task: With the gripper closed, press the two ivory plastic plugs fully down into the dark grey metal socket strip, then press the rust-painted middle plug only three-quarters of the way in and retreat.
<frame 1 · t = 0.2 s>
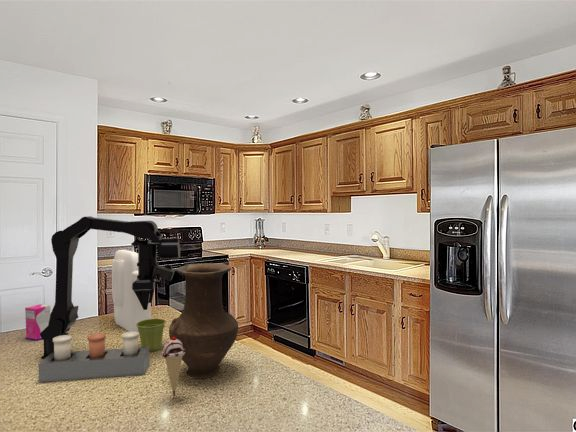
hand: (147, 306, 127), 14 cm above the countertop, fingers open, 9 cm apart
plant pot: (151, 349, 129), on the countertop
vase: (204, 372, 110), on the countertop
rust plug: (96, 346, 110), point 7 cm above the countertop, slide at 0.0 cm
white plastic jug: (128, 326, 153), on the countertop
socket block: (97, 372, 110), on the countertop
ivory plug near: (62, 348, 108), point 7 cm above the countertop, slide at 0.0 cm
supplement box: (38, 338, 140), on the countertop
ivory plug far: (130, 344, 111), point 7 cm above the countertop, slide at 0.0 cm
ice cream cone: (173, 397, 95), on the countertop
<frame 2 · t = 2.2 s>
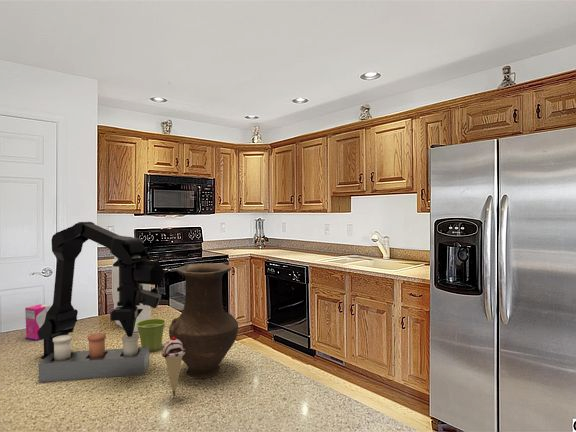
hand: (130, 336, 111), 10 cm above the countertop, fingers closed, pressing on ivory plug far
ivory plug far: (130, 347, 111), point 7 cm above the countertop, slide at 0.8 cm, touching gripper
everything else where it was.
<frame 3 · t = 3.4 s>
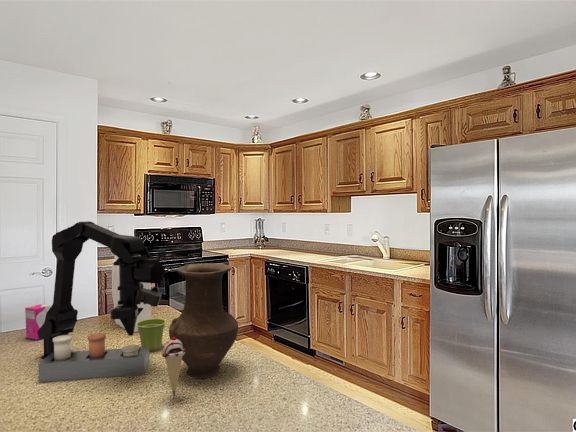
hand: (130, 335, 111), 10 cm above the countertop, fingers closed
ivory plug far: (130, 358, 111), point 3 cm above the countertop, slide at 4.0 cm
everything else where it was.
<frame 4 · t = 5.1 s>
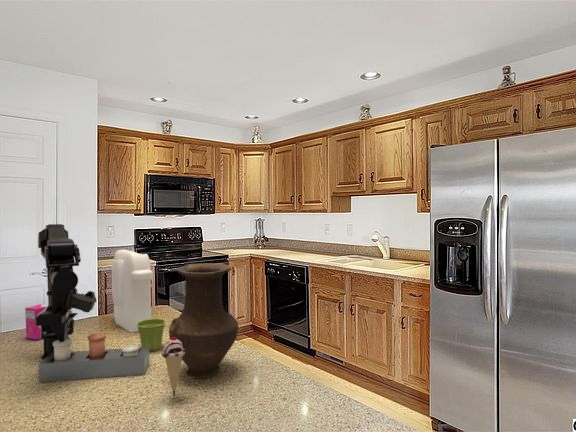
hand: (62, 341, 108), 9 cm above the countertop, fingers closed, pressing on ivory plug near
ivory plug near: (62, 352, 108), point 6 cm above the countertop, slide at 1.1 cm, touching gripper
everything else where it was.
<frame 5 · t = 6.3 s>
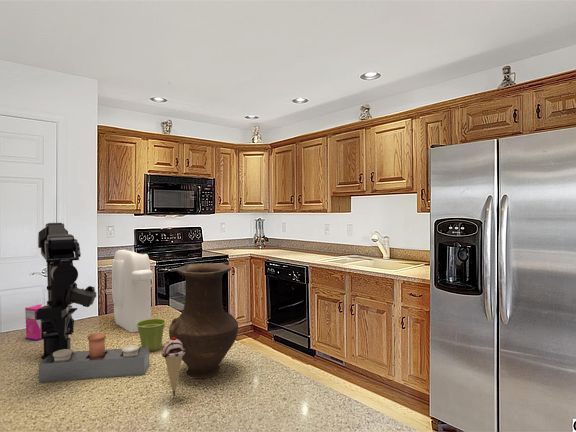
hand: (62, 336, 108), 11 cm above the countertop, fingers closed
ivory plug near: (62, 363, 108), point 3 cm above the countertop, slide at 4.1 cm
everything else where it was.
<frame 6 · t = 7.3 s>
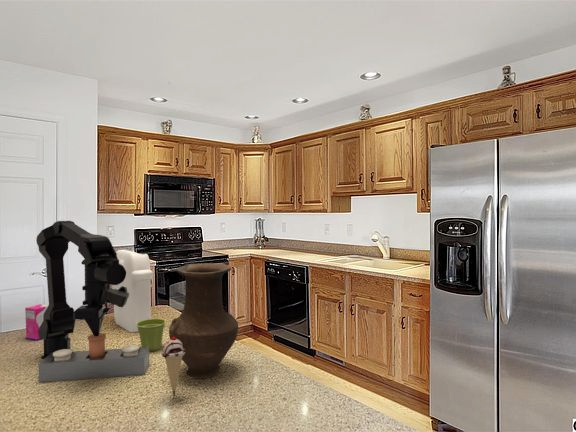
hand: (96, 335, 110), 10 cm above the countertop, fingers closed, pressing on rust plug
rust plug: (97, 346, 110), point 7 cm above the countertop, slide at 0.0 cm, touching gripper
everything else where it was.
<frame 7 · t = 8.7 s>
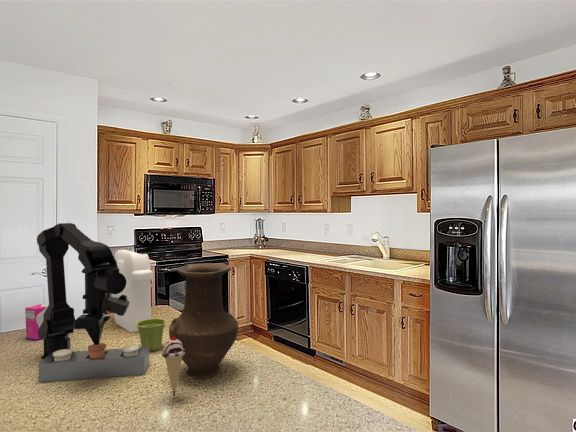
hand: (97, 344, 110), 8 cm above the countertop, fingers closed
rust plug: (97, 356, 110), point 4 cm above the countertop, slide at 2.9 cm
everything else where it was.
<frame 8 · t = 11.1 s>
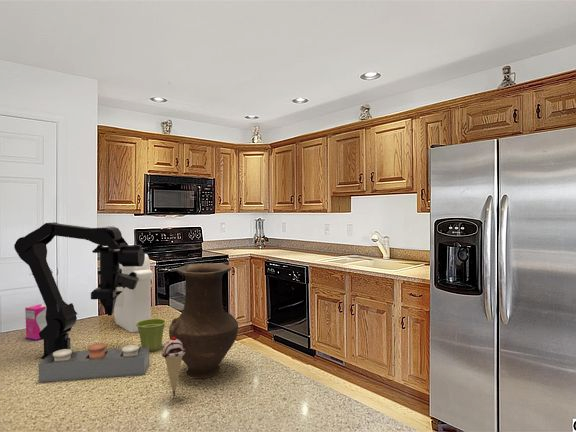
hand: (110, 315, 123), 13 cm above the countertop, fingers closed
nothing on the countertop moved.
at the end: ivory plug far slide at 4.0 cm; ivory plug near slide at 4.1 cm; rust plug slide at 2.9 cm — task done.
